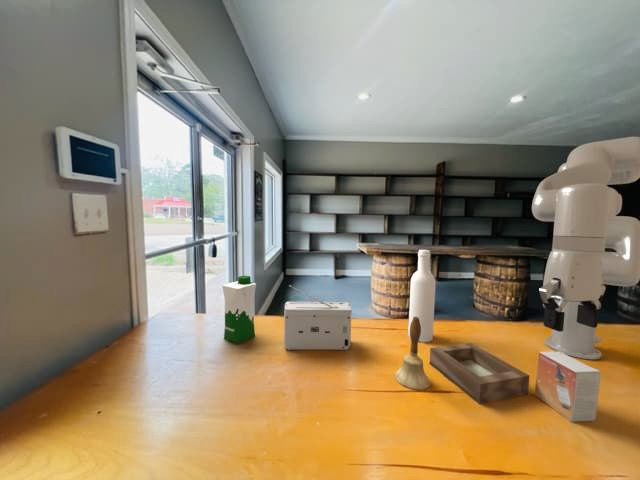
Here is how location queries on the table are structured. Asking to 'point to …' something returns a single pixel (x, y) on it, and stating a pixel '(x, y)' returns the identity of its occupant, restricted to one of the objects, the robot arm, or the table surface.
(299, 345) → the stereo radio cassette player
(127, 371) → the table surface
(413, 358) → the hand bell
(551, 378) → the small box
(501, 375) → the well block
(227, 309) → the milk carton
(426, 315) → the bottle
